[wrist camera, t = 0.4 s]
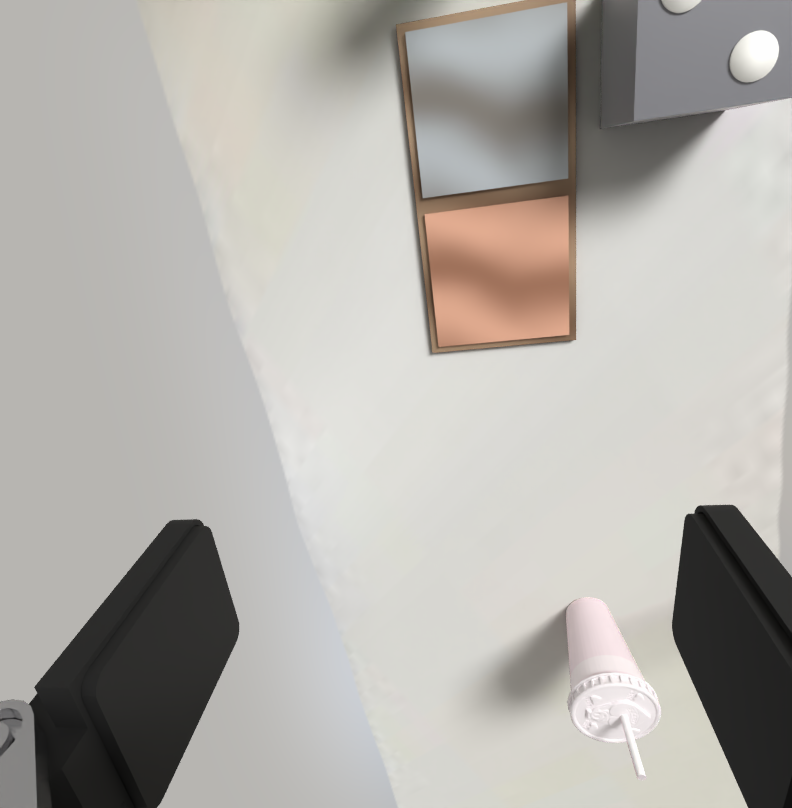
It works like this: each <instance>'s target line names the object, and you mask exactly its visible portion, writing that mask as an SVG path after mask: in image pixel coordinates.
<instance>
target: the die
mask: <svg viewBox="0 0 792 808" xmlns="http://www.w3.org/2000/svg"><path fill="white" fill-rule="evenodd" d="M788 98H792V0H602V49H601V117H600V129H602V128H609V127H616V126H622V125H629V124H636V123H643V122H649V121H656V120H663V119H670V118H676V117H683V116H690V115H697V114H703V113H710V112H717V111H724V110H729V109H735V108H740V107H745V106H750V105H756V104H761V103H766V102H772V101H777V100H782V99H788Z"/></svg>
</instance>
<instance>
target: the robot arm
mask: <svg viewBox="0 0 792 808" xmlns="http://www.w3.org/2000/svg"><path fill="white" fill-rule="evenodd" d="M672 630H673V636H674V640H675V643H676V645H677V648H678V650H679V652H680V654H681V657H682V659H683V661H684V664H685V666H686V668H687V670H688V673H689V675H690V677H691V679H692V682H693V684H694V686H695V688H696V691H697V693H698V695H699V697H700V700H701V702H702V704H703V707H704V709H705V711H706V713H707V716H708V718H709V720H710V722H711V725H712V727H713V729H714V731H715V734H716V736H717V738H718V740H719V743H720V745H721V747H722V749H723V752H724V754H725V756H726V759H727V761H728V763H729V765H730V768H731V770H732V772H733V774H734V777H735V779H736V781H737V783H738V786H739V788H740V790H741V792H742V795H743V797H744V799H745V801H746V804H747V806H748V808H792V577H791V576H790V574H789V573H788V572H787V571H786V569H785V568H784V567H783V566H782V564H781V563H780V562H779V560H778V559H777V558H776V557H775V555H774V554H773V553H772V551H771V550H770V549H769V548H768V546H767V545H766V544H765V543H764V541H763V540H762V539H761V538H760V536H759V535H758V534H757V533H756V531H755V530H754V529H753V527H752V526H751V525H750V524H749V522H748V521H747V520H746V519H745V517H744V516H743V515H742V514H741V512H740V511H739V510H738V509H737V508H736V507H735V506H733V505H705V506H698V507H697V508H696V510H695V513H694V514H687V515H686V517H685V521H684V530H683V538H682V546H681V554H680V563H679V571H678V579H677V587H676V595H675V604H674V612H673V620H672ZM238 635H239V622H238V618H237V614H236V611H235V608H234V605H233V601H232V598H231V595H230V591H229V588H228V585H227V581H226V578H225V575H224V571H223V568H222V565H221V561H220V558H219V555H218V551H217V548H216V545H215V541H214V538H213V535H212V532H211V529H210V528H209V527H207V526H204V525H203V523H202V522H201V521H200V520H197V519H194V520H172V521H170V522H169V523H167V524H166V526H165V527H164V528H163V530H162V531H161V532H160V533H159V534H158V536H157V537H156V538H155V539H154V540H153V542H152V543H151V544H150V545H149V547H148V548H147V549H146V550H145V552H144V553H143V554H142V555H141V556H140V558H139V559H138V560H137V561H136V563H135V564H134V565H133V566H132V568H131V569H130V570H129V571H128V572H127V574H126V575H125V576H124V577H123V579H122V580H121V581H120V583H119V584H118V585H117V586H116V587H115V588H114V590H113V591H112V592H111V593H110V595H109V596H108V597H107V598H106V600H105V601H104V602H103V603H102V605H101V606H100V607H99V608H98V609H97V611H96V612H95V613H94V614H93V616H92V617H91V618H90V619H89V620H88V622H87V623H86V624H85V625H84V627H83V628H82V629H81V630H80V632H79V633H78V634H77V635H76V637H75V638H74V639H73V640H72V641H71V643H70V644H69V645H68V646H67V648H66V649H65V650H64V651H63V652H62V654H61V655H60V657H59V658H58V659H57V660H56V661H55V662H54V664H53V665H52V666H51V667H50V669H49V670H48V671H47V672H46V673H45V675H44V676H43V677H42V678H41V680H40V681H39V682H38V683H37V685H36V686H35V689H36V691H37V695H36V696H35V697H34V698H33V700H32V701H31V702H30V703H29V704H27V703H26V702H24V701H20V700H7V701H1V702H0V808H157V807H158V805H159V804H160V803H161V801H162V799H163V797H164V795H165V793H166V791H167V789H168V786H169V784H170V782H171V780H172V778H173V776H174V774H175V771H176V769H177V767H178V765H179V763H180V761H181V759H182V757H183V754H184V752H185V750H186V748H187V746H188V744H189V741H190V739H191V737H192V735H193V733H194V731H195V729H196V726H197V725H198V722H199V720H200V718H201V716H202V714H203V711H204V710H205V708H206V705H207V703H208V701H209V699H210V697H211V695H212V693H213V690H214V688H215V686H216V684H217V681H218V680H219V678H220V676H221V673H222V671H223V669H224V667H225V665H226V663H227V661H228V658H229V656H230V654H231V652H232V650H233V648H234V646H235V644H236V641H237V638H238Z"/></svg>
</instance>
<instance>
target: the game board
mask: <svg viewBox="0 0 792 808" xmlns="http://www.w3.org/2000/svg"><path fill="white" fill-rule="evenodd" d="M396 30H397V39H398V48H399V57H400V66H401V75H402V84H403V93H404V101H405V110H406V119H407V128H408V137H409V146H410V155H411V164H412V173H413V182H414V191H415V200H416V209H417V218H418V227H419V236H420V245H421V254H422V263H423V272H424V281H425V290H426V299H427V308H428V316H429V325H430V334H431V343H432V352H433V353H437V352H448V351H459V350H470V349H481V348H491V347H502V346H513V345H524V344H535V343H546V342H557V341H568V340H576V0H525V1H519V2H514V3H509V4H503V5H498V6H493V7H487V8H482V9H477V10H471V11H466V12H461V13H455V14H450V15H445V16H439V17H434V18H429V19H423V20H418V21H413V22H407V23H402V24H397V25H396Z"/></svg>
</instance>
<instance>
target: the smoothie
mask: <svg viewBox="0 0 792 808" xmlns="http://www.w3.org/2000/svg"><path fill="white" fill-rule="evenodd" d="M566 624H567V640H568V655H569V670H570V687H571V692H570V693H569V697H568V701H567V703H568V710H569V712H570V715H571V720H572V722H573V724H574V725H575V727H576V728H577V729H578V730H579V731H580V732H581V733H583V734H584V735H586V736H588V737H590V738H592V739H595V740H598V741H602V742H609V743H622V742H627V744H628V747H629V751H630V754H631V758H632V761H633V765H634V768H635V772H636V775H637V779H639V780H645V779H646V775H645V772H644V768H643V765H642V762H641V758H640V755H639V752H638V748H637V745H636V742H635V740H637V739H639V738H641V737H644V736H645V735H647V734H648V733H650V732H651V731H652V730H653V729H654V728H655V727H656V726H657V724H658V723H659V721H660V718H661V708H660V705H659V702H658V697H657V695H656V692H655V690H654V689H653V688H652V687H651V686H650V685H649V684H648V683H647V682H646V681H645V679H644V677H643V675H642V673H641V671H640V669H639V668H638V666H637V664H636V662H635V660H634V658H633V656H632V654H631V652H630V650H629V648H628V646H627V644H626V642H625V640H624V638H623V636H622V634H621V632H620V630H619V628H618V626H617V624H616V622H615V620H614V618H613V616H612V614H611V612H610V610H609V609H608V607H607V605H606V604H605V603H604V602H603V601H601V600H599V599H596V598H591V597H585V598H580V599H577V600H575V601H573V602H572V603H571V604H570V605H569V606H568V607H567V610H566Z"/></svg>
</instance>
